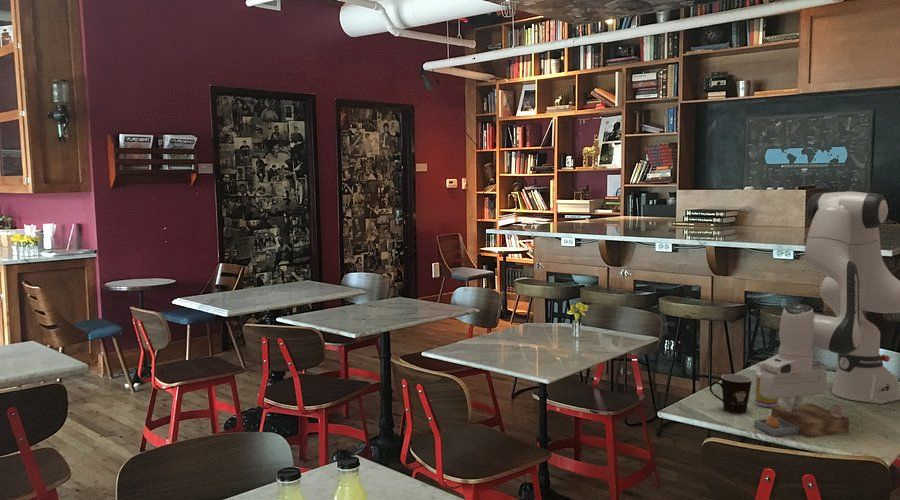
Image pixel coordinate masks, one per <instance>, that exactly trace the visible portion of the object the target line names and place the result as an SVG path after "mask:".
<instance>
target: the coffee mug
mask: <svg viewBox="0 0 900 500" xmlns="http://www.w3.org/2000/svg"><path fill="white" fill-rule="evenodd" d="M720 378H721V382H719V381H713V382H712V383H710V385H709V391H710V393H711V394H712V395H713V396H714V397H715V398H717V399H719V400H720V401H721V402H722V403H723V406H722V407H723V410H724V411H725V412H726V413H731V414H737V415H739V414H745V413H747V409H748V404H749V397H750V392H751V387H752V381H753V379H752V378H751V377H750V376H747V375H743V374H738V373H737V374H736V373H729V374H728V373H727V374H722V375H721V377H720ZM714 385H719V386H720V387H721V390H722V397H720V396H718V395H717V394H715V393H714V391H713V389H712V388H713V386H714Z"/></svg>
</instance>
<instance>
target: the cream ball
mask: <svg viewBox="0 0 900 500" xmlns="http://www.w3.org/2000/svg"><path fill="white" fill-rule="evenodd" d="M828 410H829V412H830V415H831V416H832V417H834V418H841V417H842V416H844V415H845V410H844V408H843V407H842V406H840V405H838V404H834V405H831V407H830V408H829V409H828Z"/></svg>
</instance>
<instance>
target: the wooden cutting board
mask: <svg viewBox="0 0 900 500" xmlns="http://www.w3.org/2000/svg"><path fill="white" fill-rule="evenodd" d="M829 410H830V409H826V408H824V407H822V406H818V405H816V404H814V403H801V404H800V405H799V411H795V412H788V411H786V405H785V406H783V405H782V406H776V407H771V411H770V412H771V413H770V414H771V415H770V417H775V418H778V417H779V418H781V419H783V420H785V421H787V422H790V423H792V424H794V425H796V426H798V427H799V434H798V435H799V436H802V437H805V438H807V439H808V438H815V437H824V436H832V435H841V434H848V433H849V430H850V418H849V417H846V416H844V415H843V416H842V417H841V418H834V417H832V416H831V415H830V412H829Z"/></svg>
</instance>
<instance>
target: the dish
mask: <svg viewBox="0 0 900 500" xmlns="http://www.w3.org/2000/svg"><path fill="white" fill-rule="evenodd" d="M767 419H768V418H761V419H754V420H753V427H754V428H756V429H758V430H759V431H762V432H763V433H766V434H768V435H770V436H771V437H774V438H775V437H785V436H784V435H786V436H793V434H795V435H800V434H799V427H798V426H796V425H794V424H792V423H790V422H787V421H785V420H783V419H781V418H779V417H778V418H777V419H778V420H779V422H780V426H779V428H778V429H774V428H772V427H770V426H768V425H766V420H767ZM790 434H792V435H790Z"/></svg>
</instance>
